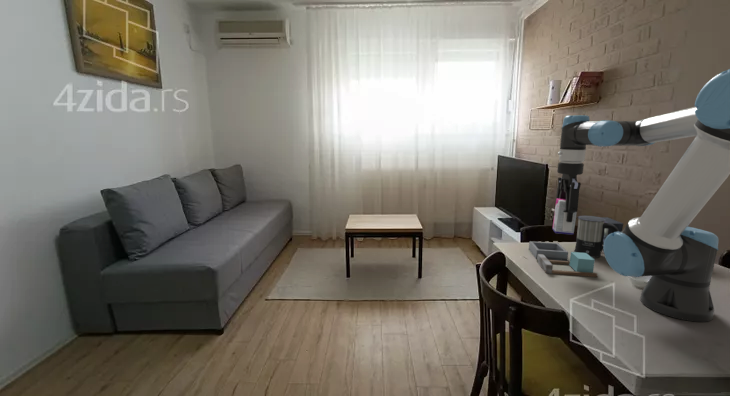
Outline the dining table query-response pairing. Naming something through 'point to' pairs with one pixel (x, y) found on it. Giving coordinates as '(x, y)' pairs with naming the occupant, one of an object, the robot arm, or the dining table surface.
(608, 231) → the small box
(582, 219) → the milk frother
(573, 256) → the block
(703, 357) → the dining table surface
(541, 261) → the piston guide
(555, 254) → the tray
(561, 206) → the supplement box
